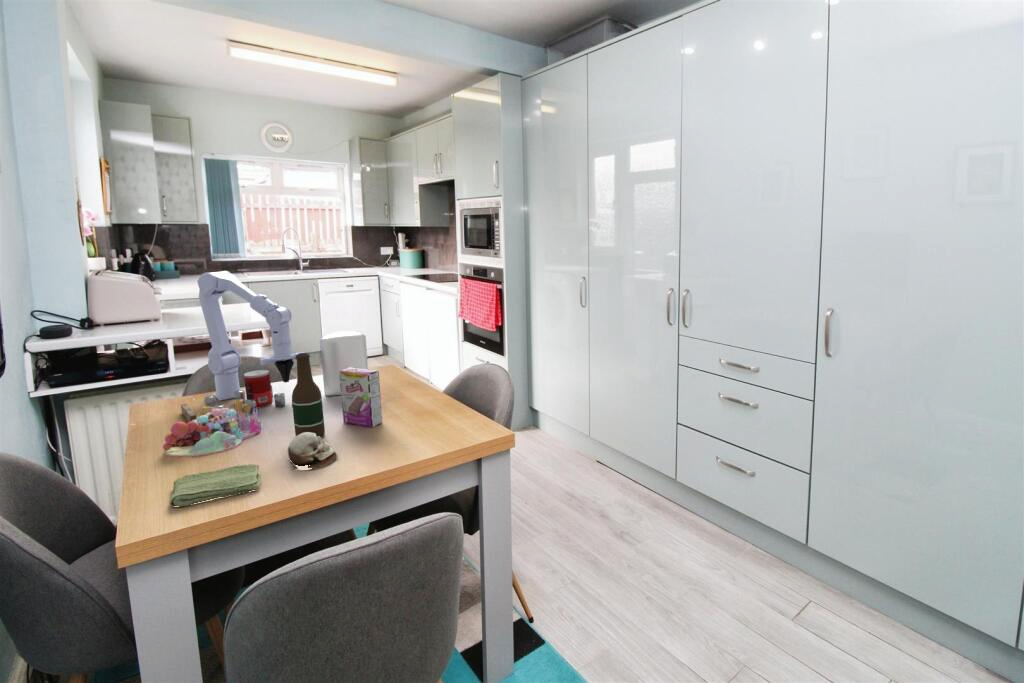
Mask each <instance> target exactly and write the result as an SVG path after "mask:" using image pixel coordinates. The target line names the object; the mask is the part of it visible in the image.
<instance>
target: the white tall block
mask: <svg viewBox="0 0 1024 683" xmlns="http://www.w3.org/2000/svg"><path fill="white" fill-rule="evenodd" d="M366 339H367V337H366V335H365V334H364V333H362V332H359V331H356V330H338V331H334V332H331V333H329V334H327V335H323V336H322V337H321V338H320V339H319V347H320V357H321V367H322V368H321V369H322V378H323V379H322V380H323V389H324V396H327V397H329V396H331V397H333V396H341V385H340V374H339V371H340V370H343V369H346V368H349V367H353V368H361V369H369V364H368V353H367V352H368V351H367V350H368V349H367V340H366Z"/></svg>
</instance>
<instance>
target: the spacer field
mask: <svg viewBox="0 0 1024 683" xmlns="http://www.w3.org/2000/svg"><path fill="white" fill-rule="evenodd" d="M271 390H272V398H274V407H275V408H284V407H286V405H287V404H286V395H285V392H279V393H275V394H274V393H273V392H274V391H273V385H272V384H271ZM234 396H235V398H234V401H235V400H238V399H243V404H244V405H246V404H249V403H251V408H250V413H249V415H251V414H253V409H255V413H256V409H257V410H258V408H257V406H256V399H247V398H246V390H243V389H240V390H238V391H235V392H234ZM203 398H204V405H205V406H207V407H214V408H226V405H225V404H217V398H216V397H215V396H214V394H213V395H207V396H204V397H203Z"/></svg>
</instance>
